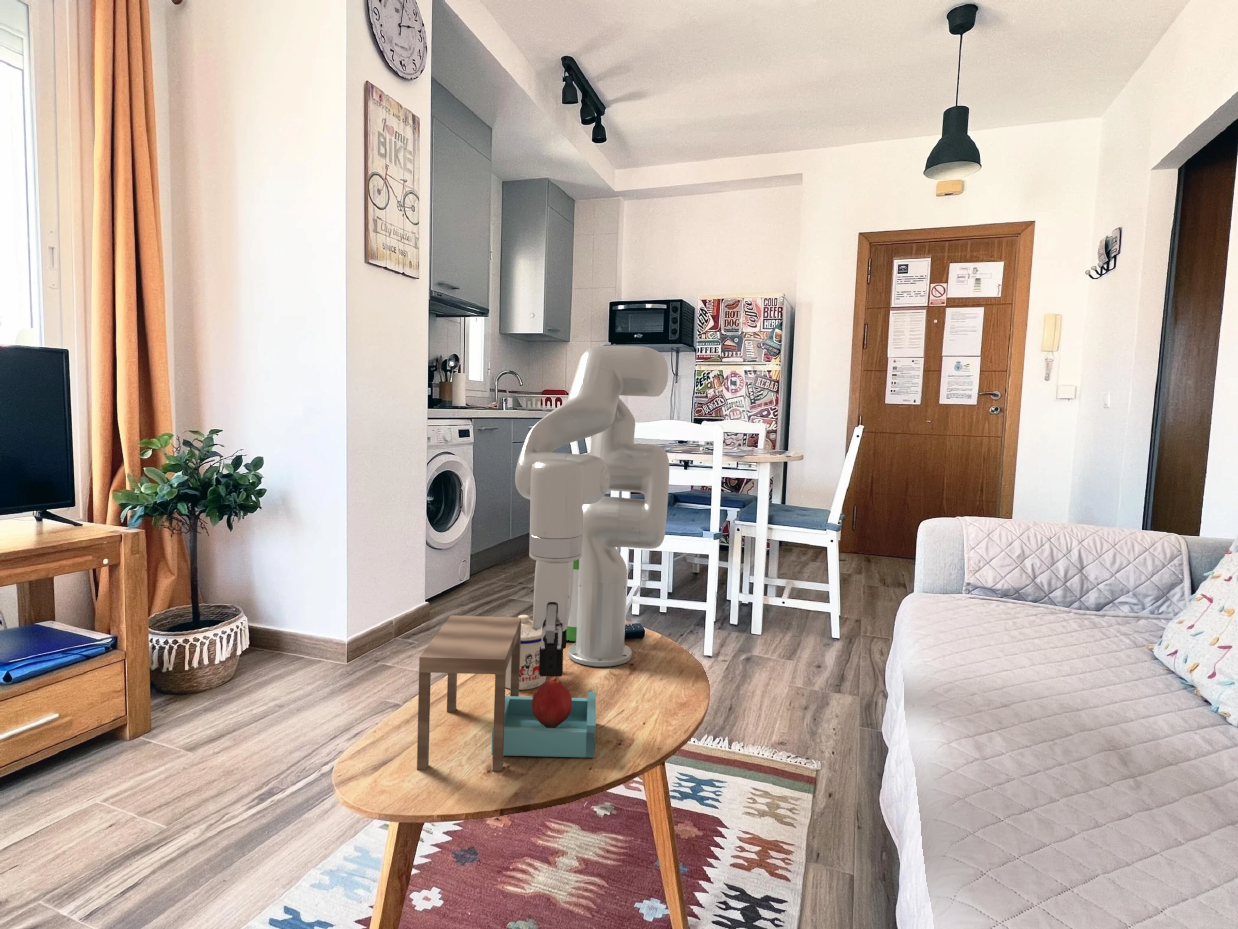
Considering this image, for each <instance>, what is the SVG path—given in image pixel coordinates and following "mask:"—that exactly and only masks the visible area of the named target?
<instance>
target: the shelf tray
mask: <svg viewBox="0 0 1238 929" xmlns="http://www.w3.org/2000/svg"><path fill="white" fill-rule="evenodd" d="M571 698H572V709H571V713H570V715H569V716H568V718H567V719H566V720H564V721H563V722H562V723H561V724H560V725H558V726H557V727H556V728H546V727H545V726H543V725H542V724H541V723H540V722H539V721H538V720H537V719H536V718H535V716H534V714H533V710H532V699H533V696H520V695H519V696H510V695H507V696H506V695H505V716H504V748H503V756H513V757H514V756H517V757H520V756H521V757H555V758H556V757H557V758H558V757H561V758H564V757H565V758H595V747H596V746H595V745H596V721H597V720H596V716H597V715H596V711H597V709H596V708H597V706H596V705H597V702H596V701H597V692H596V691H587V697H571ZM491 730H492V731H491V756H493V734H494V726H492V729H491Z"/></svg>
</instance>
